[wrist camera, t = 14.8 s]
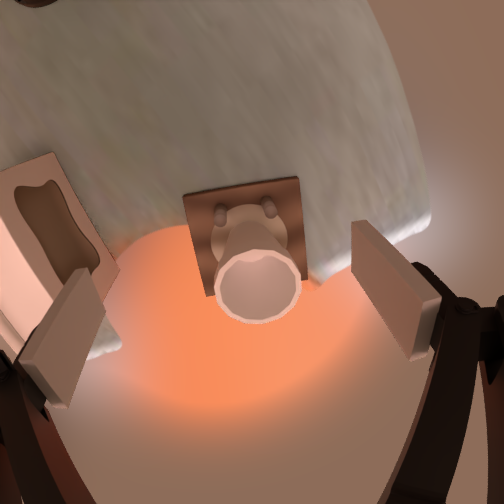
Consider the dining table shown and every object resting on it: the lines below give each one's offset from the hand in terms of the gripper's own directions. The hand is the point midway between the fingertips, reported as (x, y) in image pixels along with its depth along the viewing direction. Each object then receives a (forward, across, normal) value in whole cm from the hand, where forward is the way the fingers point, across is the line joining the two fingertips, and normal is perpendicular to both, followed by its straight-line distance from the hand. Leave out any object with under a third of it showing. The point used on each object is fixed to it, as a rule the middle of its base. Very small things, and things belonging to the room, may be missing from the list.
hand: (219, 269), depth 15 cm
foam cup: (+29, +2, -12) cm, 31 cm away
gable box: (+31, -28, -6) cm, 42 cm away
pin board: (+30, +2, -12) cm, 33 cm away
